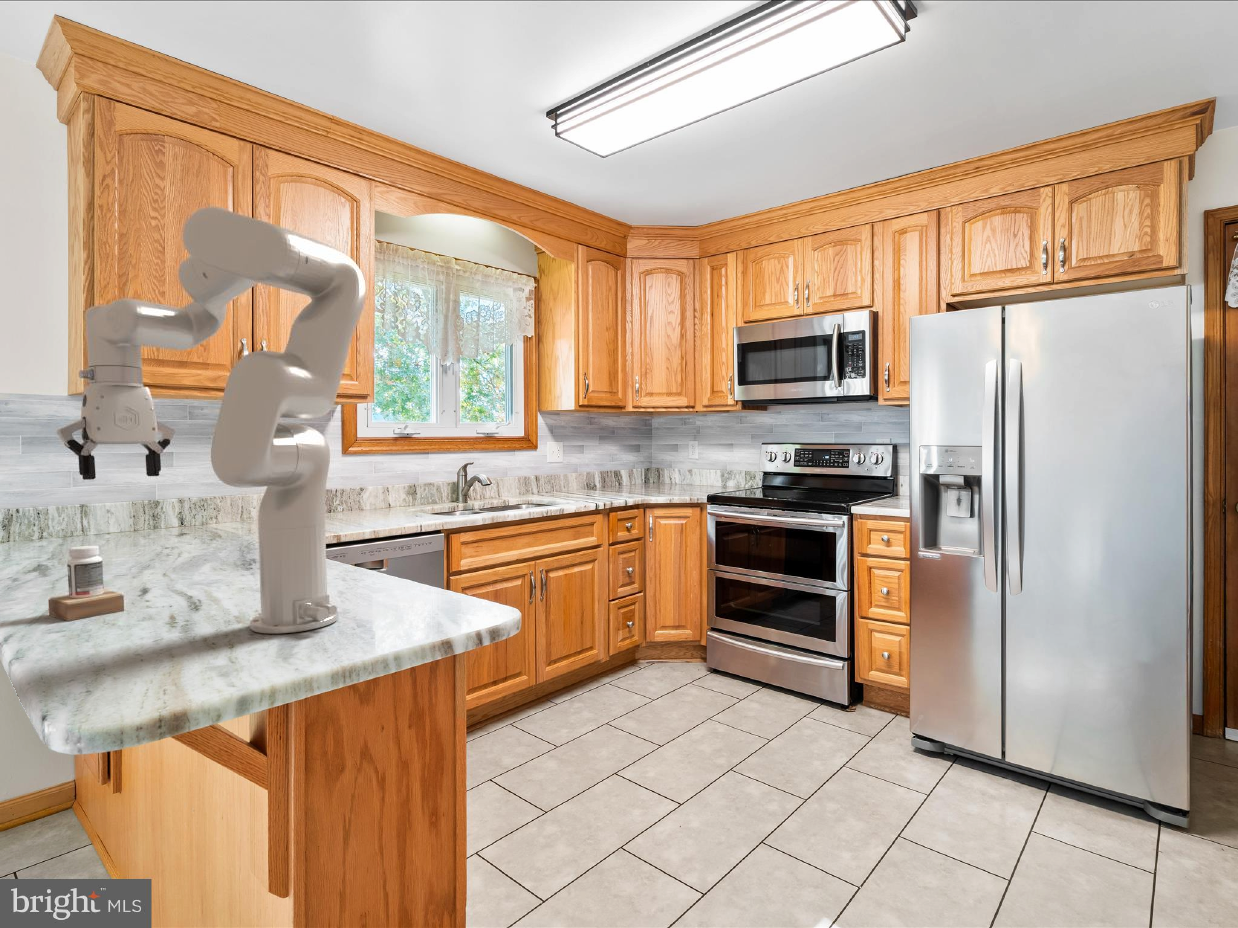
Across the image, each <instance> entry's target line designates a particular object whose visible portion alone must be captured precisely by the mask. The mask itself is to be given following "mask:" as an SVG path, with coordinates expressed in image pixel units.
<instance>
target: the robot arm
mask: <svg viewBox="0 0 1238 928" xmlns="http://www.w3.org/2000/svg"><path fill="white" fill-rule="evenodd" d="M182 242H183V245H184V248H185V250H186V251H187V253H188V254H189V255H190V256H188V257H187V258H185V260H183V261H182V262H181V263H180V264H179V267H178V269H177V270H178V271H177V275H178V280H179V283H180V285H181V287H182V288H183V290H184V292H186V293H187V295H188V296H189V297H190V298H191V299H192V301H191V302H190V303H188V304H186V305H185V306H184V305H183V307H176V306H173V305H167V304H163V303H162V304H161V303H156V302H153V301H152V302H151V301H145V300H141V299H135V298H130V297H129V298H128V297H127V298H125V297H124V298H119V299H116V300H114V301H112V302H110V303H108V304H104V305H103V304H102V305H101V304H100V305H92V306H91V307H89V308H88V309H86V311H85V315H84V319H85V320H84V321H85V333H86V348H87V349H86V352H87V367H86V369H85V370H82V369H80V370H79V371H78V377H79V379H85V380H86V381H87V384H88V385H85V386H84V391H83V395H82V400H81V401H82V402H81V410H80V413H81V414H80V419H79V420H77V421H73V422H72V423H70V424H68V425H65V426H62V427H61V428H58V429H57V430H56V434H57V435H58V436H59V438H60V439H61V441H62V442H63V444H64V446H65V447H66V448H67V449H69V450H70V451H71V452H73V453H74V455H76V457H78V458H77V459H78V470H79V471H78V473H79V475H80V476H82V480H83V481H86V480H95V479H96V477H97V476H96V475H97V474H96V463H95V462H96V459H95V456H94V455H92V452H93V451H94V450H95V449H96V448H97V447H98V446H99V445H137V444H139V445H140V446H141V447H143V448H144V449H145V451H147V452H148V453H147V454H145V471H146V472H145V473H146V476H148V477H159V476H160V472H161V470H162V465H161V454H163V452H164V450H165V449H166V448H167V447H169V445H170V444H171V441H172V439H173V437H174V435H175V434H176V431H175V429H174V428H172V427H171V426H168V425H165V424H164V423H161V422H159V421H158V420H157V416H156V410H155V403H154V400H153V397H152V394H151V391H150V388H149V387H147V386H144V379H143V378H144V376H143V375H144V374H143V359H142V346H143V347H149V348H156V349H164V350H170V351H171V350H172V351H186V350H190V349H193V348H195V347H197V346H199V345H202V344H203V343H204V342H206V341H207V340H209V339H210V338H212V337H213V336H215V335H216V334H217V333H219V331H220V330H221V328H222V327H223V324H224V322H225V321H226V318H227V317H226V316H227V314H228V313H227V312H228V304H229V303H230V302H231V301H233V300H235V299H236V298H237V297H239V296H240V295H242V294H243V293H245V292H247V291H248V290H250V289H251V288H253V287H254V286H256V285H257V284H262V285H266V286H269V287H274V288H278V289H282V290H285V291H289V292H292V293H296V294H299V295H300V294H301V295H305V296H307V297H309V298H310V299H311V301H310V302H309V303H308V304H307V305H306V306H305V307H304V308H303V309H301V311H300V312H299V313H298V315H297V316H296V318H295V319H294V321H293V323H292V325H291V328H290V332H289V338H288V340H287V344H286V347H285V348H284V349H285V350H284V351H283V352H279V351H272V350H257V351H252V352H250V353H248V354H245V355H244V356H242V358H240V359H239V360H238V361H237V362H236V363H235V365H234V366H233V367H232V368H231V371H230V373H229V375H228V377H227V380H226V383H225V388H224V390H223V391H224V392H223V396H222V399H221V403H220V404H221V405H220V408H219V412H218V415H217V420H216V424H215V428H214V431H213V437H212V439H211V440H212V442H211V445H210V446H211V448H210V463H211V467H212V470H213V472H214V474H215V476H216V477H217V478H218V479H219V481H221V482H222V483H224V484H225V485H227V486H230V487H234V488H241V489H243V488H246V489H247V488H262V487H266V489H265V491H264V493H263V496H262V499H261V500H260V503H259V507H258V516H257V524H258V525H257V527H258V530H257V531H258V557H259V558H258V561H259V562H258V563H259V588H260V590H259V591H260V592H259V593H260V615H258V616H255V617H254V618H253V617H252V619H251V620H249V621H250V622H249V626H250V628H249V629H250V630H251V631H253V632H256V633H261V634H272V635H273V634H288V633H289V634H291V633H299V632H304V631H311V630H316V629H319V628H323V627H326V626H329V625H331V624H333V623H335V622H337V621H338V619H339V611H338V608H337V606H336V605H334V604H330V594H328V583H327V581H328V578H327V575H328V574H327V573H328V572H327V548H326V547H327V545H326V544H327V543H326V542H327V541H326V539H327V538H326V489H327V480H328V475H329V468H330V462H331V452H330V446H329V443H328V441H327V439H326V438H325V436H324V435H323V434H322V433H321V432H320V431H318V430H317V429H315V428H313V427H311V426H308V425H306V424H305V425H304V424H300V423H291V422H290V423H288V422H287V423H286V422H280V418H281V419H282V418H283V419H316V418H320V417H321V418H322V417H324V416H325V415H327V414H328V413H329V412H330V411H332V408H333V407H334V405H335V403H336V399H337V395H338V393H339V388H340V385H341V381H342V377H343V374H344V370H345V366H346V364H347V363H346V362H347V359H348V355H349V351H350V345H351V343H352V340H353V336H354V333H355V330H356V329H357V326H358V322H359V321H360V319H361V316H362V313H363V310H364V308H365V307H364V306H365V304H366V303H365V302H366V296H367V289H366V282H365V278H364V275H363V273H362V271H361V269H360V268H359V266H358V265H357V264H356V262H355V261H354V260H353V259H352V258H351V257H350V256H348V255H347V254H346V253H344V252H343V251H341V250H339V249H338V248H336V247H334V246H332V245H329V244H328V243H325V242H322V241H319V240H317V239H316V238H315V239H314V238H311V237H309V236H306V235H303V234H301V233H299V232H295V231H293V230H290V229H288V228H284V227H282V226H279V225H276V224H273V223H270V222H267V221H263V220H260V219H257V218H253V217H250V216H247V215H243V214H240V213H237V212H234V211H231V210H229V209H226V208H223V207H219V206H205V207H203V208H200V209H198V210H196V211H194V212H193V213H192V214H191V215H190V216H189V217H188V219H186V222H185V223H184V225H183V228H182ZM77 431H80V433H81V434H80V435H81V439H82V443H80V442H79V441H78V440H76V439H75V438H74V436H73V433H75V432H77ZM159 433H161V438H160V439H159V440H158V437H159ZM157 440H158V441H157Z"/></svg>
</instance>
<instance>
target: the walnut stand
mask: <svg viewBox="0 0 1238 928" xmlns="http://www.w3.org/2000/svg"><path fill="white" fill-rule="evenodd" d="M124 597H125V596H124V594H122V593H120V592H117V591H111V590H108V589H104V593H103V594H101V595H98V596H93V597H87V598H70V597H69V594H64V595H58V596H57V595H56V596H53V597H50V598H49V599H48V602H47V603H48V615H49V616H51V617H54V618H56V619H59V620H63V621H66V622H71V621H76V620H82V619H86V618H92V617H97V616H103V615H108V614H113V613H119V612H124V611H125V600H124V599H125V598H124Z"/></svg>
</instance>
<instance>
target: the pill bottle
mask: <svg viewBox="0 0 1238 928" xmlns="http://www.w3.org/2000/svg"><path fill="white" fill-rule="evenodd" d="M99 548H100V547H99V546H98V545H82V546H75V547H74V546H73V547H70V548H69V549H68V556H69V558H70V559H68V560H67V562H66V563H67V564H66V565H67V582H68V583H67V585H68V586H67V587H68V595H69V597H70V598H87V597H93V596H98V595H101V594H103V593H104V572H103V571H104V569H103V558H102V557H101V556H100V549H99Z"/></svg>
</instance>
